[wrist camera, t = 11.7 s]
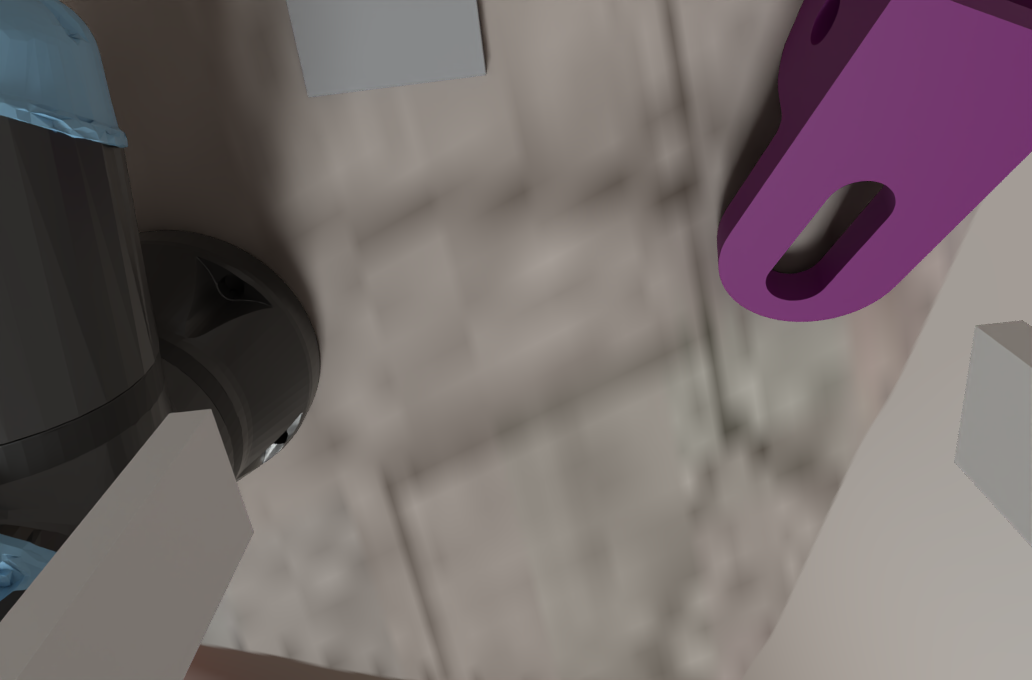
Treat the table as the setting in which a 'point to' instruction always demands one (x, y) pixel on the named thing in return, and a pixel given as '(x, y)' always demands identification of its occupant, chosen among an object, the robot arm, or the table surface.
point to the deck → (385, 43)
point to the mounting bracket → (879, 144)
